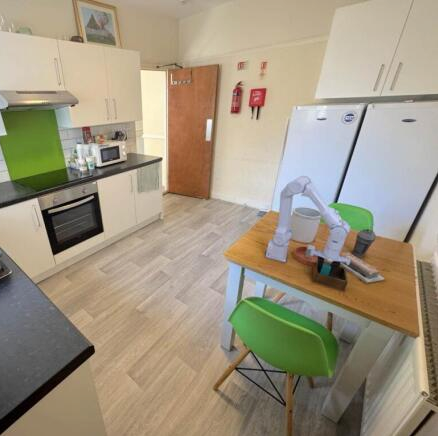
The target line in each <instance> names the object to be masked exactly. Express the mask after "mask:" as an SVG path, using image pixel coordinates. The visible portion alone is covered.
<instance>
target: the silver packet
mask: <svg viewBox="0 0 438 436" xmlns="http://www.w3.org/2000/svg"><path fill="white" fill-rule="evenodd" d="M306 247H307V249H306V252H305V257H309V258H312V257H313V256H311V255H310V253H311V250H315V249H316V246H315V245H312V244H307V246H306Z"/></svg>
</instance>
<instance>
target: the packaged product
mask: <svg viewBox="0 0 438 436" xmlns="http://www.w3.org/2000/svg"><path fill="white" fill-rule="evenodd" d="M339 256H342V257H344V258H347V259H350V264H349V265H347V264H346V263H342V262H341V263H340V266H342V267H345V268H346V271H347V272H349V273H351V274H352V275H353V276H355V277H356V278H358V279H359V280H360V281H362V282H363V283H365V284H370V283H376V282H380V281H384V280H385V277H384V276H382V275H381V274H380V273H381V271H380V270H378V269H376V268H375V267H374V266H371V265H370V264H368V263H366V262H365V261H363V260H362V259H361V258H358V257H355V256H354V255H353V253H351V252H347V251H346V252H340V254H339Z"/></svg>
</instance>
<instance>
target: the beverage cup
mask: <svg viewBox="0 0 438 436" xmlns="http://www.w3.org/2000/svg"><path fill="white" fill-rule="evenodd" d="M374 226H375V223H372V224H371V226H370V228H369V229H368V228H364V229H361V230H359V231H358V233H357V234H356V239H355V243H354V245H353V249H352V255H354V256H355V257H357V258H358V259H363V258H364V256H365V255H366V253H367V252H368V250H369V249H370V247H371V246H372V244H373V243H374V242H375V241H376V238H377V236H376V232H375V231H374V230H372V229H373V227H374Z"/></svg>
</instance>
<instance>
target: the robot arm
mask: <svg viewBox="0 0 438 436" xmlns="http://www.w3.org/2000/svg"><path fill="white" fill-rule="evenodd" d="M299 194H300V196H301V197H307V198H309V199H310V200H311V201H312V203H313V204H314V205H315V206H316V207H317V209H318V210H320V211H321V213H320V216H321V217H322V218H321V220H323V222H324V223H325V224H326V226H327V227H328V228H329V236H328V238H327V241H326V243H325V246H324V249H323V251H322V250H319V251H315V250H311V253H310V255H311V256H313V255H314V256H318V262H319V268H318V271H320V270H321V268H322V265H323V263H324V258H325V259H326V261H327V262H330V263H331V270H330V272H329V274H330V273H331V272H332V271H333V270H334V269H335V268H337V267H339V266H340V263H341V262H342V263H346V264H347V265H349V264H350V259H347V258H344V257H342V256H339V254H340V253H342V250H343V247H344V245H345V242H346V239H347V236H348V234H349V233H350V231H351V229H352V227H351V225H350V223H349V222H347V221H346V220H343V218H342V217H341V215H340V214H339V213H340V212H339V211H338V210H337V209H335V208H334V207H331V206H329V205H328V203H327V202H326V200H325V199H324V198H323V196H322V194H321V193H320V191H319V190H318V188H317V186H316V184H315V183H314V182H313V181H312V180H311V178H310V177H309V176H307V175H301V176H299V177H297V178H295V179H294V180H291V181H290V182H288V183H287V184H286V185H285V186H284V188H283V189H282V190H281V191H280V194H279V208H278V221H277V222H278V224H277V227H276V229H275V231H274V235H272V236H273V237H272V239H269V241H268V244H267V248H266V250H265V252H266V253H265V257H266V258H268V259H272V260H276V261H279V262H283V263H286V261H287V255H288V254H287V253H288V250H289V246H290V240H291V239H292V237H293V233H292V230H291V229H292V227H291V226H290V221H291V217H292V211H293V198H294V196H295V195H299Z"/></svg>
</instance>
